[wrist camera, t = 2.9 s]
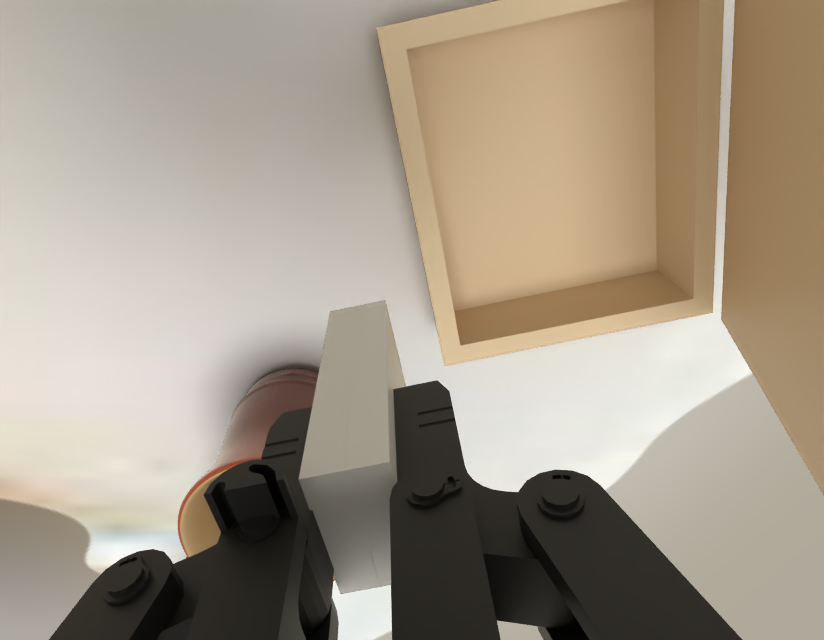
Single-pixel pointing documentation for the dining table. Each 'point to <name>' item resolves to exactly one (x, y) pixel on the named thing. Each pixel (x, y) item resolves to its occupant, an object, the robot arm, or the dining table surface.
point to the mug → (243, 447)
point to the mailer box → (560, 165)
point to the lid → (779, 212)
